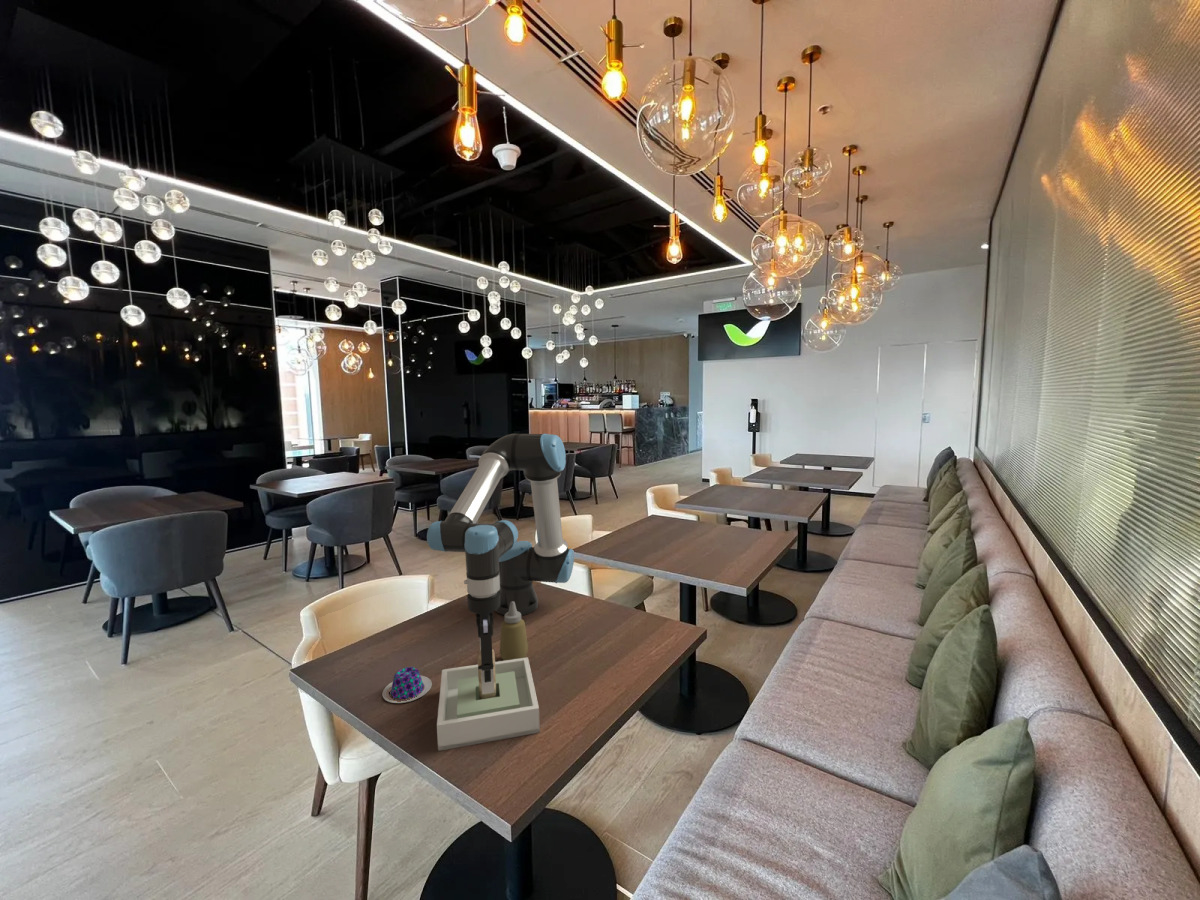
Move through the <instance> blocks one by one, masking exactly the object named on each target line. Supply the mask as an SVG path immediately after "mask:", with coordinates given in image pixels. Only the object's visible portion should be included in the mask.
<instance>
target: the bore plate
mask: <svg viewBox="0 0 1200 900" xmlns="http://www.w3.org/2000/svg"><path fill="white" fill-rule="evenodd" d="M495 676H496V697H494V698H488V699H481V700H479V678H478V677H473V678H466V679H459V680H458V698H457V719H458V718H464V717H469V716H475V715H481V714H487V713H493V712H499V711H505V710H511V709H517V708H520V704H519V698H518V691H517V685H516V679H515V672H514V671H512V672H506V673H499V674H495Z"/></svg>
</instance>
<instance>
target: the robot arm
mask: <svg viewBox="0 0 1200 900" xmlns="http://www.w3.org/2000/svg"><path fill="white" fill-rule="evenodd" d="M566 458H567V456H566V449H565V446H564V442H563V440H562V439H561V437H560V436H559V435H557V434H550V433H511V434H510V433H509V434H506V435H504V436H502V437H500V438H498V439H497V440H495V441H494V442H493V443H491V444H490V445H489V446H488V447H486V449H485V450H484V451H483V452H482V454H481V456H480V457H479V459H478V467H477V469H476V470H475V471H474V473H473V474H472V477H471V478H470V479H469V481H468V482H467V484H466V485H465V488H464V490H463V491H462V493H461V494H460V496H459V498H458V499H457V501H456V502H455V504H454V505H453V507H452V508H451V510H450V512H449V514H448V515H447V516H446V518H445V520H440V521H439V520H437V521H434V522H432V523H431V524H430V525H429V527H428V528H427V533H426V542H427V544H428V547H429V548H430V550H433V551H439V552H444V553H447V552H448V553H449V552H450V553H454V552H455V553H465V567H466V568H465V569H466V575H465V576H466V579H464V581H463V583H464V585H466V589H467V593H468V594H467V595H466V597H467V609H468V611H469V612H470V613H473V614H475V617H476V619H475V622H476V627H477V636H478V638H479V648H480V649H479V651H480V650H481V663H482V664H481V666H478V669H481V680H482V694H488V693H494V673H493V667H494V665H493V657H492V649H493V643H492V642H493V641H492V639H493V638H492V637H493V636H494V621H495V620H494V613H493V612H496V613H498V614H500V615H501V616H505V614H506V613H507V612H509V607H510V602H512V601H514V602H515V606H516V609H517V611H518V612H520V613H521V616H525V615H528V614H531V613H533V612H535V611H536V610H537V609H538V607H539V600H538V596H537V593H536V590H535V588H534V584H533V582H538V583H539V582H541V583H555V584H558V583H559V584H566V583H568V582H569V580H570V579H571V576H572V573H573V568H574V563H575V551H574V550H573V549H572V548H569V545H568V541H566V539H564V537H563V527H562V518H561V507H560V506H561V505H560V494H559V487H558V486H559V485H558V478H560V477H561V474H562V471H564V469H565V467H566V464H567V463H566V462H567V460H566ZM510 471H524V477H525V479H526V480H527V481H529V482H530V487H531V495H532V505H533V512H534V520H535V521H534V522H535V529H536V540H537V542H536V543H535V545H534V546H533V544H532V542H531V541H529V540H528V541H527V540H520V541H519V540H518V537H519V531H518V528H517V527H516V525H515V524H514V523H513V522H511V521H510V520H507V519H504V520H503V519H502V520H499V521H495V522H494V523H483V522H482V523H480V522H479V523H478V520H479V519H480V517H481V515H482V513H483V511H484V510H485V508H486V506H487V504H488V502H489V501H490V499H491V497H492V495H493V494H494V492H495V489H496V487H497V486H498V484H499V482H500V480H501V479H502V478H504V477H505V476H507V474H508V473H509V472H510ZM517 540H518V541H517Z"/></svg>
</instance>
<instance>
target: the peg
mask: <svg viewBox="0 0 1200 900" xmlns="http://www.w3.org/2000/svg"><path fill="white" fill-rule="evenodd" d="M495 654H496V653H495V650H494V649H493V648H492V657H493V665H494V667H493V673H494V693H488V694H482V680H481V669H478V678H479V700H481V699H488V698H494V697H496V676H495V662H496V657H495V656H496V655H495ZM481 664H482V663H481V650H480V649H479V650H478V652H477V665H478V666H481Z"/></svg>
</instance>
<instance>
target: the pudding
mask: <svg viewBox="0 0 1200 900" xmlns="http://www.w3.org/2000/svg"><path fill="white" fill-rule="evenodd" d="M432 685H433V684H432V680H431V679H430V678H429V677H427V676H424V675H421V673H420V671H419V669H418V668H416V667H414V666H410V667H403V668H402V669H401V668H400V669H399V670H397V672H396V673H395V674H394V675H393V680H392V682H390V683H388V685H386V686H385V688H384V689H383V690H382V697H383V699H384V700H385V701H387V702H388V703H393V704H403V703H409V702H413V701H416V700H417V699H419V698H420V699H421V698H422V697H424V696H425V695H426V694H427V693H428V692H429V691H430V690H431V688H432ZM390 687H392V688H391V692H390V695H391V694H392V695H391V697H392V696H393V699H394V698H399V699H398V700H400V699H406V698H407V699H410V700H407V699H406V700H407V701H401V702H397V701H393V700H389V699H388V698H387V697H386V696H387V695H386V692H387V690H389V688H390ZM416 696H417V697H416ZM408 697H411V698H412V697H413V698H412V699H411V698H408ZM414 697H415V698H414Z"/></svg>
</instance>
